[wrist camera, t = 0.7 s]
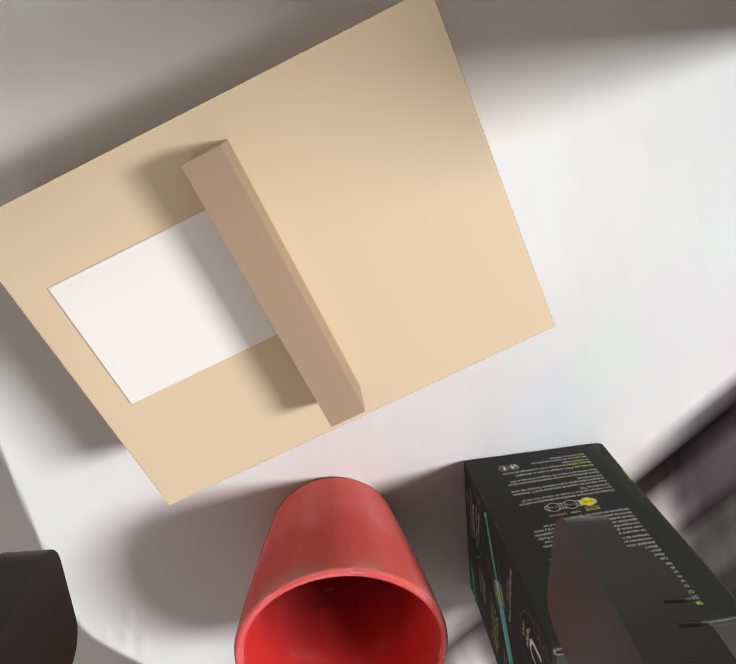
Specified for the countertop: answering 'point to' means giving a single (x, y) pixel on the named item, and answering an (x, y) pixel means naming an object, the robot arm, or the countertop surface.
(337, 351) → the lid
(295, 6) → the countertop surface
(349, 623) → the flower pot
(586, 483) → the tampon box
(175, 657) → the countertop surface
